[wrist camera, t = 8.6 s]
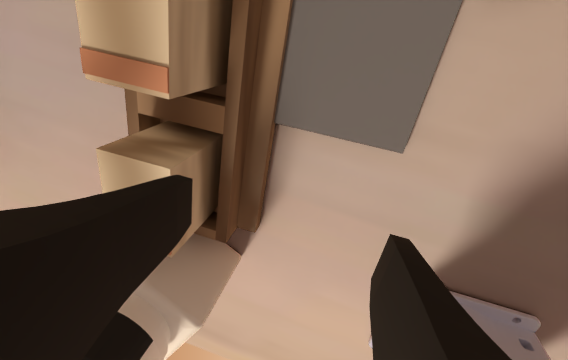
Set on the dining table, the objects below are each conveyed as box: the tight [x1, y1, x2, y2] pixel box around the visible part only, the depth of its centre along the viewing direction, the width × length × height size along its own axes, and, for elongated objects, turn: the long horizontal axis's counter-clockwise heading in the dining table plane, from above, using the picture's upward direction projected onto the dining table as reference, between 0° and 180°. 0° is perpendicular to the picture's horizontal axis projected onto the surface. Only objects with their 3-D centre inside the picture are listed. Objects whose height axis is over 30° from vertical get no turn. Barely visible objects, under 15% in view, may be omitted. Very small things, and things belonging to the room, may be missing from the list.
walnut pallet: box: [125, 0, 293, 243], centre depth 18 cm, size 10×17×3 cm, turn 171°
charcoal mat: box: [274, 0, 462, 154], centre depth 16 cm, size 8×9×1 cm
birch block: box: [75, 0, 233, 99], centre depth 13 cm, size 4×6×6 cm
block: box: [96, 121, 223, 258], centre depth 17 cm, size 4×6×6 cm
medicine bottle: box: [82, 234, 241, 360], centre depth 20 cm, size 7×7×12 cm
